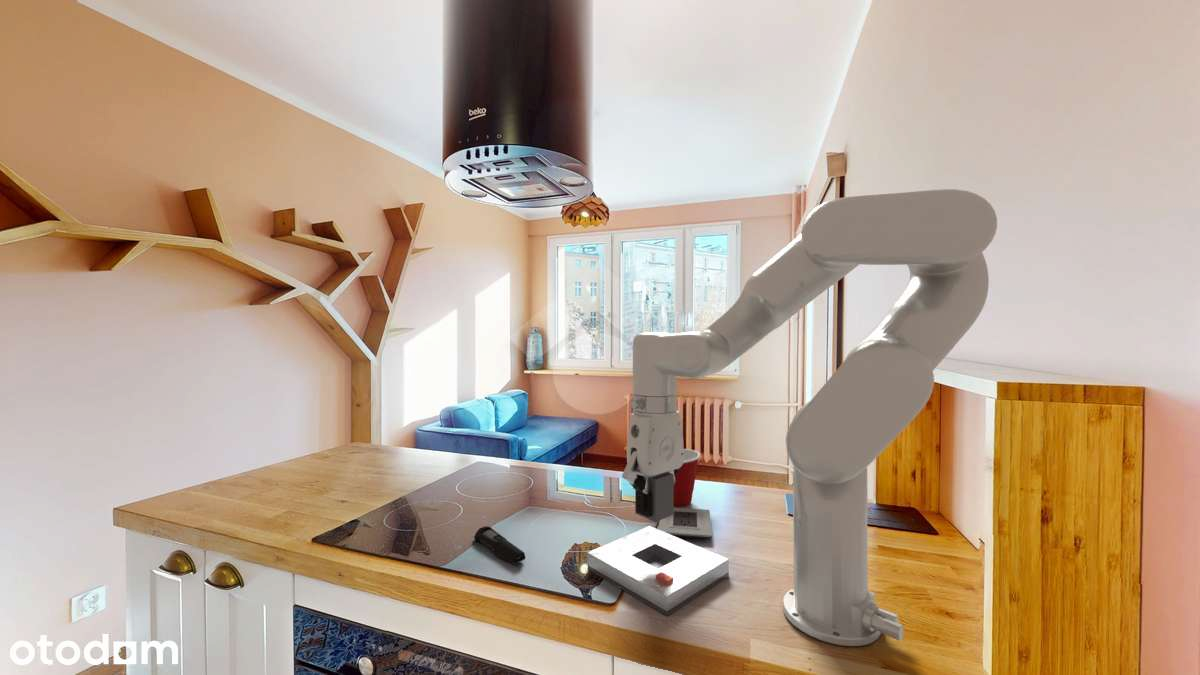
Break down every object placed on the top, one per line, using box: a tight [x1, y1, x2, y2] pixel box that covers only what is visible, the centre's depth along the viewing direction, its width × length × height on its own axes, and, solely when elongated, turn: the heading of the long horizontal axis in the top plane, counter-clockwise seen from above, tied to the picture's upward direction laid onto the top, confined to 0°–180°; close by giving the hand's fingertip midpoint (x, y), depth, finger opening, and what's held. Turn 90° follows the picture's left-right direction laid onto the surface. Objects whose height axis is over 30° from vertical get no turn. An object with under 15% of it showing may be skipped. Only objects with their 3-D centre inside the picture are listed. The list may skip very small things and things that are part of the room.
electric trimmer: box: [473, 525, 526, 564], centre depth 87 cm, size 4×16×3 cm, turn 41°
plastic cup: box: [673, 448, 701, 508], centre depth 110 cm, size 11×11×12 cm
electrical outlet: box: [657, 507, 713, 540], centre depth 96 cm, size 13×10×2 cm
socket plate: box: [587, 525, 730, 617], centre depth 78 cm, size 18×16×4 cm
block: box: [634, 472, 674, 523], centre depth 78 cm, size 5×5×7 cm
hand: (654, 509), depth 78 cm, fingers closed on block, 4 cm apart
